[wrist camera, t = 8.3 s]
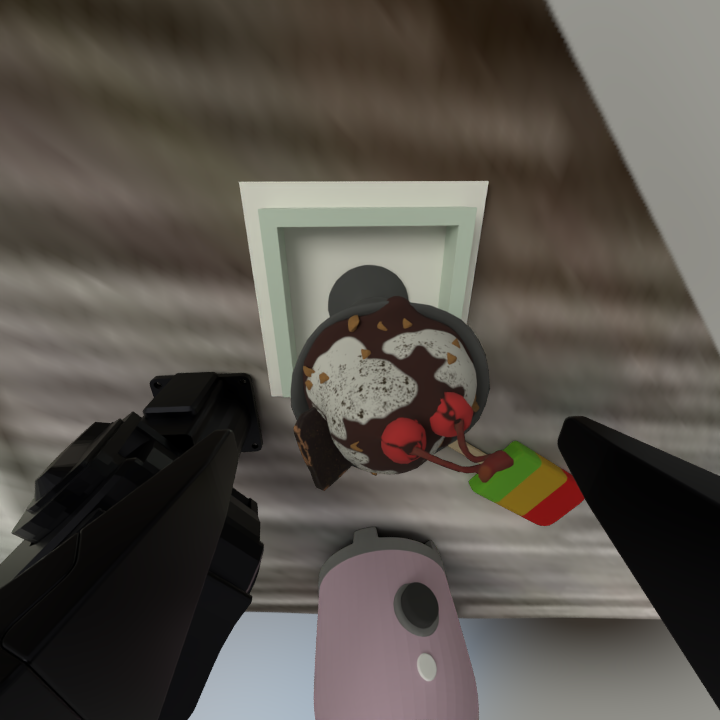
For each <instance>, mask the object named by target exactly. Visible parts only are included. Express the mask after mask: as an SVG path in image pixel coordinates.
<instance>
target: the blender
mask: <svg viewBox="0 0 720 720" xmlns="http://www.w3.org/2000/svg"><path fill="white" fill-rule="evenodd" d="M425 544H426V545H425ZM425 544H422V543H420V542H417V541H414V540H410V539H405V538H397V537H382V538H379V537H378V534H377V530H376V527H369V528H364V529H361V530H358V531H355V532H354V538H353V544H351V545H349V546H347V547H345V548H343V549H341V550H339V551H338V552H336V553H335V554H333V555H332V556H331V557H330V558H329V559H328V560H327V561H326V562H325V564H324V565H323V567H322V568H321V571H320V574H319V583H318V597H319V606H318V621H317V637H316V656H315V677H314V678H315V679H314V711H315V719H316V720H479V707H478V694H477V687H476V682H475V677H474V673H473V669H472V665H471V662H470V658H469V655H468V651H467V648H466V644H465V640H464V637H463V633H462V630H461V626H460V623H459V619H458V616H457V613H456V609H455V606H454V602H453V599H452V596H451V592H450V589H449V586H448V582H447V576H446V573H445V569H444V566H443V562H442V560H441V557H440V555H439V552H438V549H437V547H436V546H435V544H434V543H433V542H432V541H431V540H430V541H428V542H426V543H425Z"/></svg>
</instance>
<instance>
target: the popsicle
mask: <svg viewBox="0 0 720 720" xmlns="http://www.w3.org/2000/svg"><path fill="white" fill-rule="evenodd" d="M466 444H467V447H468V449H469V452H470V453H471V454H473V455H474V456H483V455H487V454H486V453H484V452H482V451H480V450H479V449H477V448H475V447H473V446H472V445H470V444H468V443H467V442H466ZM448 447H450V448H452V449H454V450H455V451H457V452H459V453H461V454H463V453H462V451H461V449H460V448H459V445H458V440H456V441H455V442H453V443H451V444H450V445H448ZM503 451H505V452H506V453H507V454H508V455H509V456H510V457H511V458H512V459H513V460H514V465H513V466H511V467H510V468H507V469H505V470H502V471H499V472H496V473H495V474H494V475H493V477H492V478H491V479H490V480H489V481H488V482H487V483H482V481H481V480H480V478H479V477H478V474H476V475H475V476H474V477H473V478H472V479H471V480H470V481H468V482H469V484H470V486H471V489H472V490H473V491H474V492H475V493H477V494H479V495H481V496H483V497H485V498H487V499H489V500H491V501H492V502H494V503H496V504H498V505H500V506H502V507H504V508H506V509H508V510H510V511H512V512H514V513H516V514H517V515H519V516H521V517H523V518H525V519H527V520H529V521H531V522H533V523H535V524H537V525H540V526H548V525H551V524H553V523H554V522H556V521H557V520H559V519H560V518H561V517H563V516H564V515H565V514H567V513H568V512H569V511H571V510H572V509H573V508H575V507H576V506H577V505H579V504H580V503H581V502H582V501H583V500H584V499H585V498H584V497H583V495H582V493H581V491H580V489H579V487H578V485H577V483H576V481H575V479H574V477H573V476H572V475H571V474H569V473H568V472H566V471H565V470H563V469H561V468H560V467H558V466H557V465H555V464H553V463H552V462H550V461H548V460H547V459H545V458H544V457H542V456H540V455H539V454H537V453H536V452H534V451H532V450H531V449H529V448H528V447H526V446H524V445H523V444H521V443H520V442H518V441H514V442H512V443H511V444H510V445H508V446H507V447H506V448H505V449H504V450H503ZM463 455H464V454H463ZM464 456H465V455H464ZM482 463H483V462H479V464H482ZM533 472H534V473H533ZM520 483H521V484H520Z"/></svg>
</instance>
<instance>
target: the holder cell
mask: <svg viewBox="0 0 720 720" xmlns="http://www.w3.org/2000/svg"><path fill="white" fill-rule="evenodd" d="M488 182H489V181H386V182H239V185H240V191H241V198H242V204H243V211H244V218H245V224H246V231H247V237H248V244H249V250H250V257H251V264H252V270H253V277H254V283H255V290H256V297H257V303H258V310H259V316H260V323H261V329H262V336H263V343H264V349H265V356H266V362H267V369H268V376H269V382H270V389H271V395H272V397H274V396H283V397H291V381H292V373H293V370H294V367H295V365H296V362H297V360H298V357H299V354H300V353H301V351H302V349H303V347H304V345H305V343H306V341H307V339H308V338H309V337H310V336H311V334H312V333H313V332H314V331H315V330H316V328H317V327H318V326H319V325H320V324H321V323H323V322H324V321H325V320H326V319H328V318H329V317H330V316H329V312H328V299H329V294H330V292H331V289H332V287H333V285H334V284H335V282H336V280H337V279H338V278H340V277H341V276H342V275H343V274H344V273H346V272H347V271H348V270H350V269H353V268H355V267H358V266H363V265H376V266H381V267H384V268H386V269H388V270H390V271H391V272H393V273H394V274H396V275H397V276H398V277H399V278H400V280H401V281H402V282H403V284H404V286H405V287H406V290H407V294H408V299H409V301H410V302H412V303H419V304H426V305H431V306H434V307H436V308H439V309H441V310H444V311H446V312H449V313H451V314H452V315H454V316H456V317H458V318H460V319H461V320H462V321H463V322H464V323H465V324H466V325H467V319H468V313H469V306H470V300H471V293H472V286H473V280H474V273H475V267H476V260H477V254H478V247H479V241H480V234H481V227H482V221H483V214H484V208H485V201H486V195H487V188H488Z"/></svg>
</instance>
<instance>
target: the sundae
mask: <svg viewBox="0 0 720 720" xmlns="http://www.w3.org/2000/svg"><path fill="white" fill-rule="evenodd" d="M328 312H329V316H330V317H329V318H328V319H326V320H325V321H324V322H323V323H321V324H320V325H319V326H318V327H317V328H316V330H315V331H314V332H313V333H312V334H311V336H310V337H309V338H308V339H307V341H306V343H305V345H304V347H303V349H302V351H301V353H300V354H299V357H298V360H297V362H296V365H295V367H294V370H293V373H292V381H291V407H292V410H293V412H294V415H295V417H296V420H297V422H296V424H295V426H294V434H295V437H296V440H297V443H298V446H299V449H300V451H301V454H302V456H303V459H304V461H305V463H306V465H307V467H308V468H309V470H310V472H311V475H312V478H313V481H314V483H315V486H316V488H319V489H321V490H324V491H325V490H326V489H327V488H328V487H329V486H331V485H332V484H333V483H334V482H335V481H336V480H337V479H338V478H339V477H341V476H342V475H343V474H344V473H345V472H346V471H347V470H348V469H349V468H350V467H351V466H354V467H357V468H359V469H362V470H365V471H368V472H371V473H372V474H373V475H377V473H379V474H400V473H405V472H408V471H411V470H413V469H416V468H418V467H419V466H420V465H422V464H423V463H425V462H426V461H427V460H429V461H431V462H433V463H436V464H438V465H441V466H444V467H446V468H449V469H452V470H455V471H458V472H464V473H477V474H478V477H479V478H480V480H481V481H482V483H487V482H488V481H489V480H490V479H491V478H492V477H493V475H494V474H495V473H496V472H499V471H502V470H505V469H507V468H510V467H511V466H513V465H514V460H513V459H512V458H511V457H510V456H509V455H508V454H507V453H506V452H505V451H502V450H500V451H496V452H495V453H492V454H488V455H483V456H474V455H473V454H471V453H470V452H469V449H468V447H467V444H466V442H465V436H464V434H465V433H467V432H468V431H469V430H470V429H471V428H472V426H473V425H474V424H475V423H476V422H477V421H478V420H479V418H480V416H481V414H482V412H483V409H484V407H485V405H486V401H487V397H488V393H489V389H490V385H489V370H488V365H487V360H486V355H485V353H484V351H483V348H482V346H481V344H480V342H479V340H478V338H477V337H476V335H475V334H474V332H473V331H472V330H471V328H470V327H469V326H468V325H466V324H465V323H464V322H463V321H462V320H461V319H460V318H458V317H456V316H454V315H452V314H451V313H449V312H446V311H444V310H441V309H439V308H436V307H434V306H431V305H426V304H419V303H412V302H410V301H409V299H408V294H407V290H406V287H405V286H404V284H403V282H402V281H401V280H400V278H399V277H398V276H397V275H396V274H394V273H393V272H391V271H390V270H388V269H386V268H384V267H381V266H376V265H363V266H358V267H355V268H353V269H350V270H348V271H347V272H346V273H344V274H343V275H342V276H341V277H340V278H338V279H337V280H336V282H335V284H334V285H333V287H332V289H331V292H330V294H329V299H328ZM456 440H458V445H459V448H460V449H461V451H462V453H463V454H464V455H465V456H466V457H467V458H468V459H469V460H470V461H472V462H475V463H479V462H483V463H482V464H479V465H475V466H470V467H462V466H459V465H456V464H454V463H452V462H449V461H445V460H442V459H440V458H438V457H436V456H434V455H433V454H435V453H436V452H438V451H440V450H441V449H443V448H445V447H446V446H448V445H450V444H451V443H453V442H455V441H456Z"/></svg>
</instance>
